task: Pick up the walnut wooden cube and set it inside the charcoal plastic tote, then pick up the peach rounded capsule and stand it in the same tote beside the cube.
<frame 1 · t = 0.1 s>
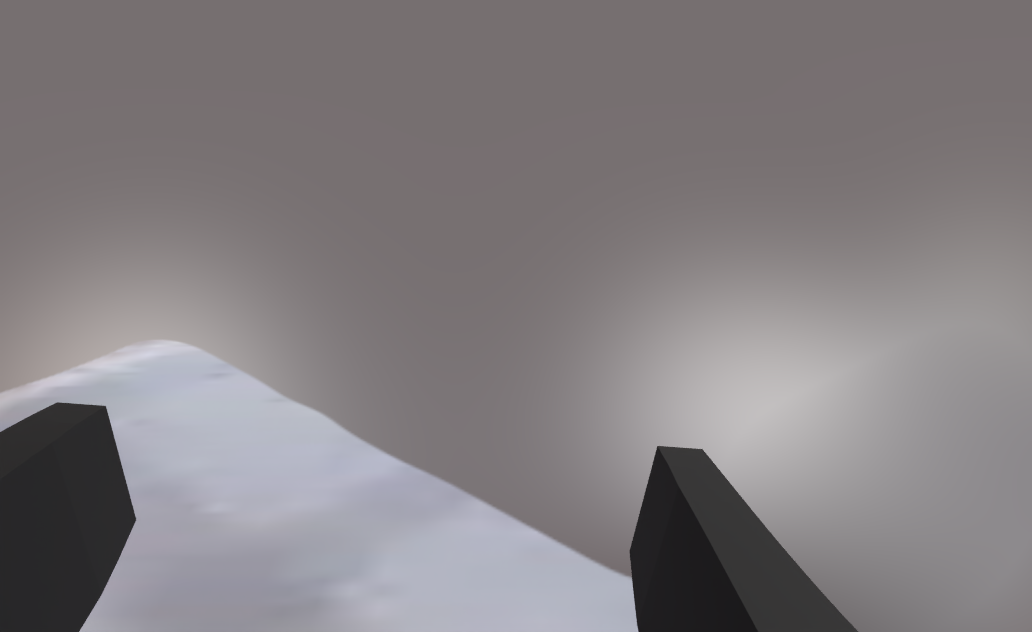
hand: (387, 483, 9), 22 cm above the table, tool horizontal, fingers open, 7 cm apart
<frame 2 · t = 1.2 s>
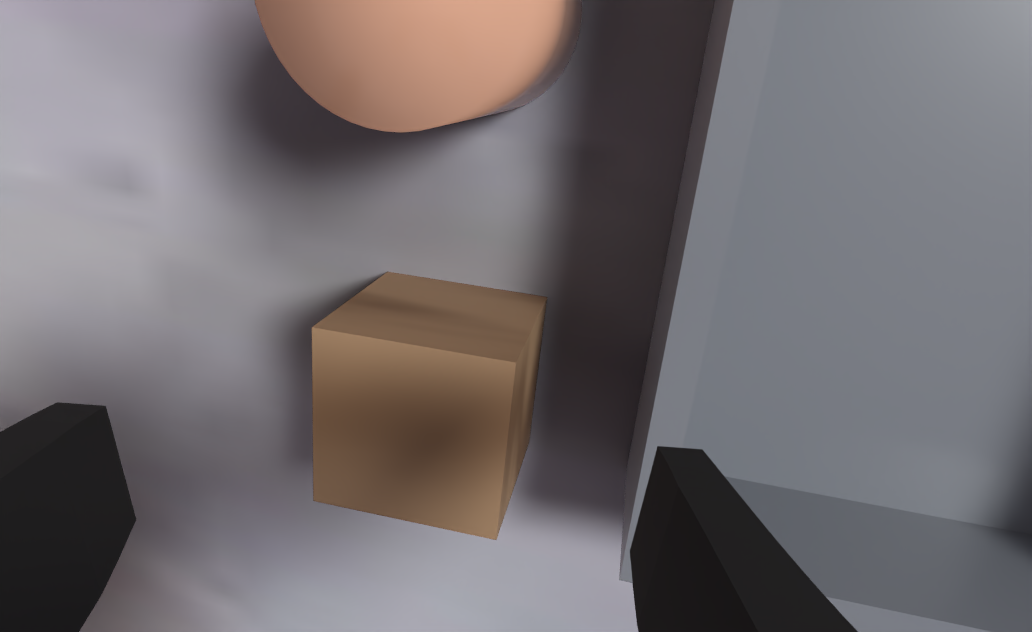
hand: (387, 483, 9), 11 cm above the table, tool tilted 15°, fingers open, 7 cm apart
cube: (460, 358, 21), on the table
tote: (946, 229, 17), on the table
peach rounded capsule: (486, 13, 17), on the table
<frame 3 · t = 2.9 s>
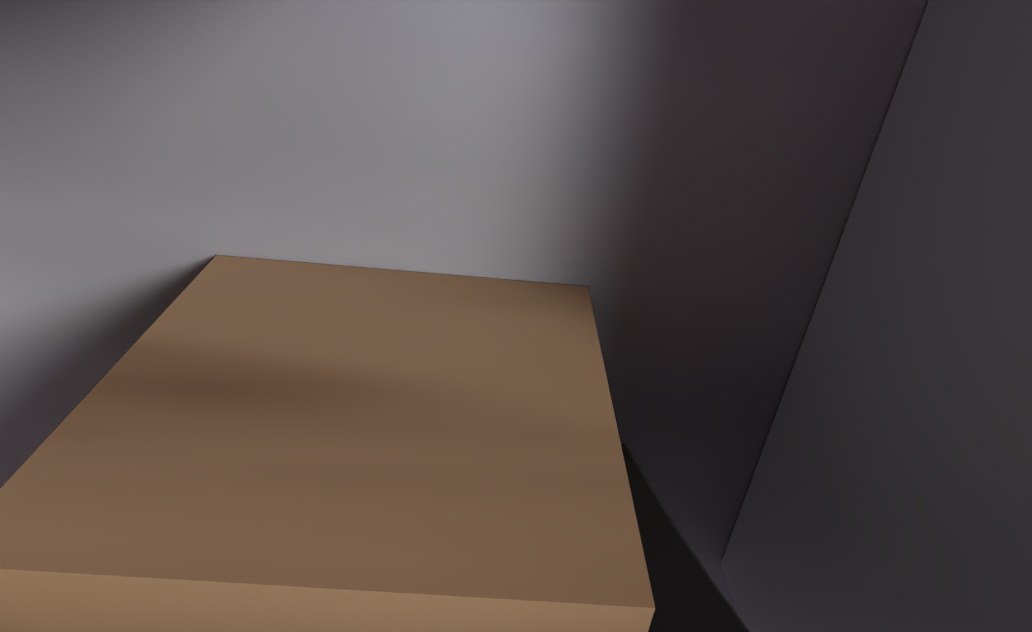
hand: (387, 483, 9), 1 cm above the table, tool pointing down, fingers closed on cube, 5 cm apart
cube: (402, 416, 10), on the table, touching gripper
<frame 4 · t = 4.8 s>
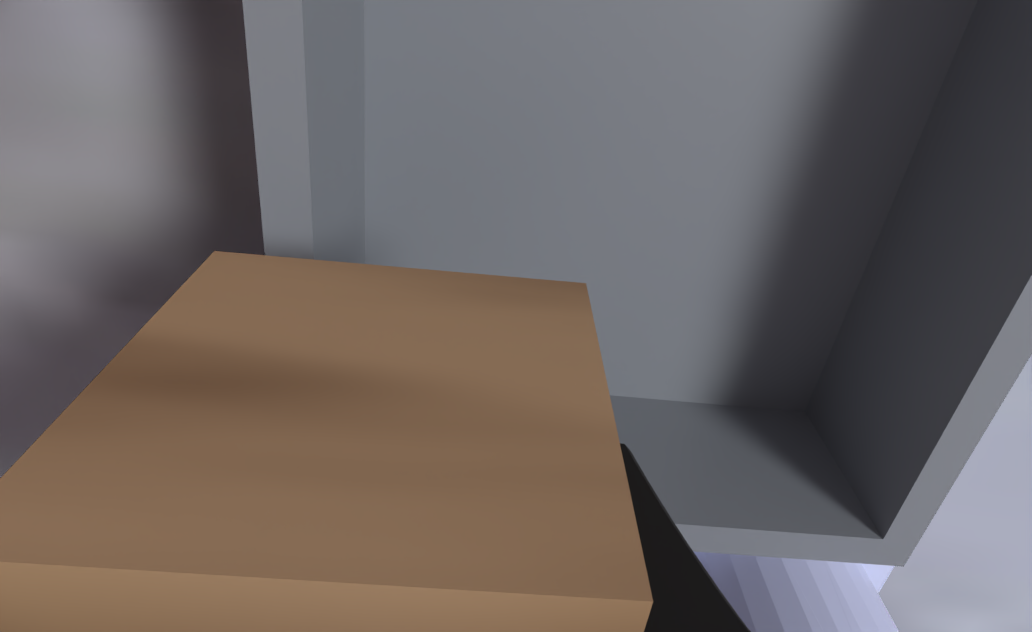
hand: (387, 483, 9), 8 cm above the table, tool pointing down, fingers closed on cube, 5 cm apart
cube: (400, 413, 10), point 7 cm above the table, touching gripper
tote: (648, 81, 14), on the table
when the fingers open (3 cm above the table, at t = 6.6 s): cube drops 1 cm, resting on tote.
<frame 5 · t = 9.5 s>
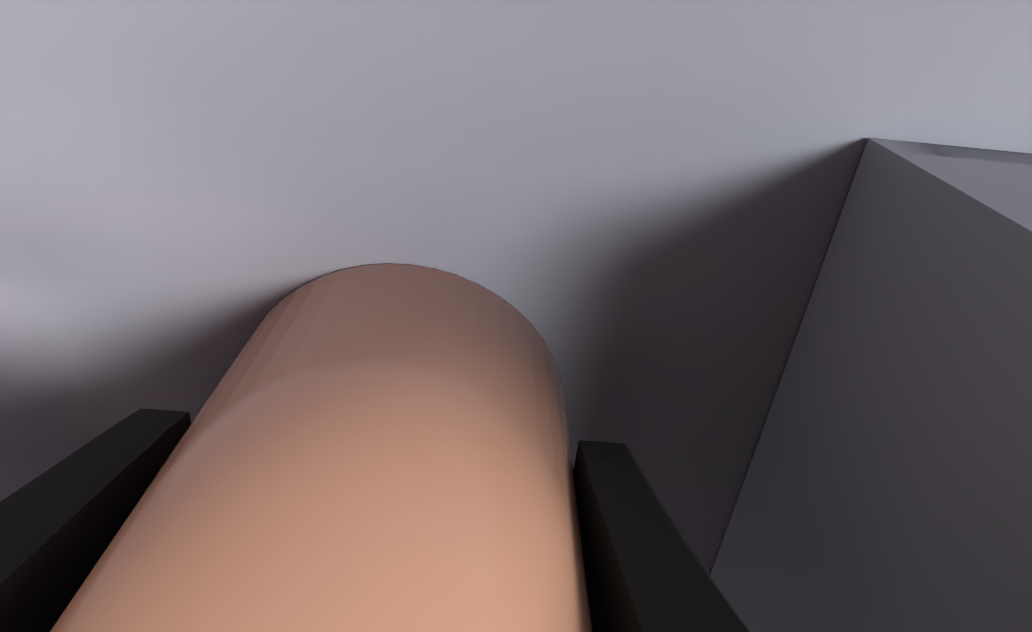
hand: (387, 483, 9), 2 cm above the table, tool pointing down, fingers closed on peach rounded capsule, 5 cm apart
peach rounded capsule: (403, 410, 10), on the table, touching gripper
when the fingers open (4 cm above the table, at t = 13.2 s): peach rounded capsule drops 2 cm, resting on tote.
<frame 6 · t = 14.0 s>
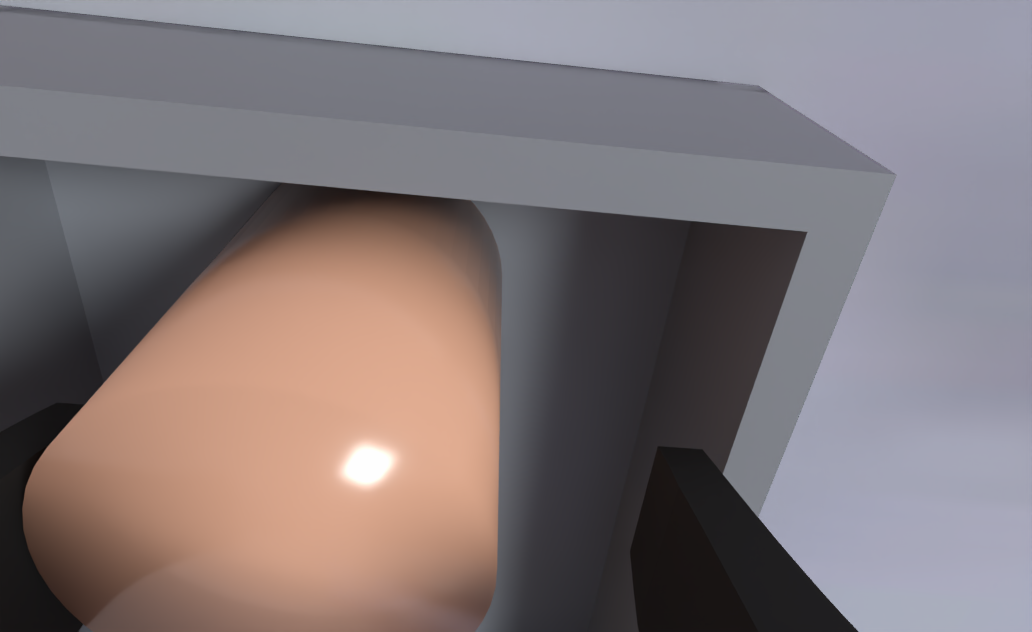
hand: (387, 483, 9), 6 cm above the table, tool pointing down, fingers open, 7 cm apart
tote: (382, 431, 16), on the table
peach rounded capsule: (377, 276, 13), point 1 cm above the table, touching gripper, tote
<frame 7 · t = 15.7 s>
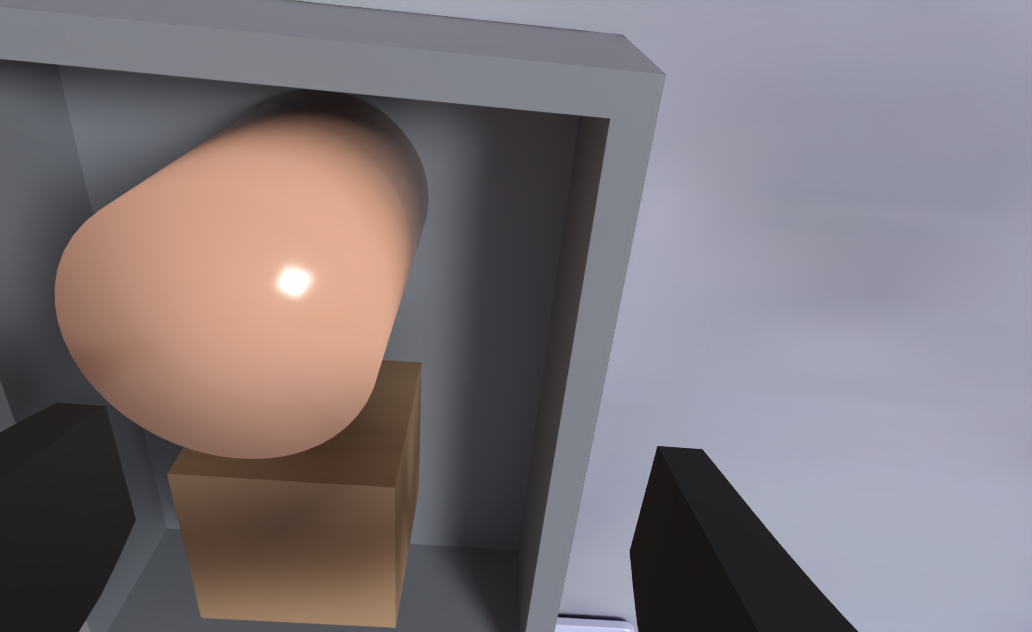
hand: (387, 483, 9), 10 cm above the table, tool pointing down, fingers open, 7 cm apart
cube: (338, 424, 20), point 1 cm above the table, touching tote
tote: (340, 333, 19), on the table
peach rounded capsule: (328, 192, 17), point 1 cm above the table, touching tote
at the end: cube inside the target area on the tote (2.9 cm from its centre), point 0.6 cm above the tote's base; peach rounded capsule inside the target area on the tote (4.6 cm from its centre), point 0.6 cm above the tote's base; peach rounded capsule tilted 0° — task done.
